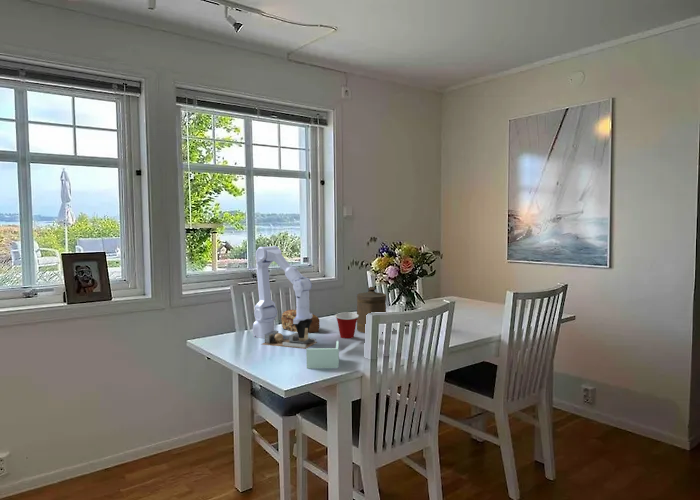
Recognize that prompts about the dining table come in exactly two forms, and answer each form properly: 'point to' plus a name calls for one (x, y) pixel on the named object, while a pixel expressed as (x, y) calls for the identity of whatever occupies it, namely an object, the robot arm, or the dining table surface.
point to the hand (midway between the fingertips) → (303, 336)
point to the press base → (285, 341)
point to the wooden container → (369, 306)
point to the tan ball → (278, 338)
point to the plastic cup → (346, 324)
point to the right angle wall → (323, 357)
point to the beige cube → (295, 338)
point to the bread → (291, 314)
